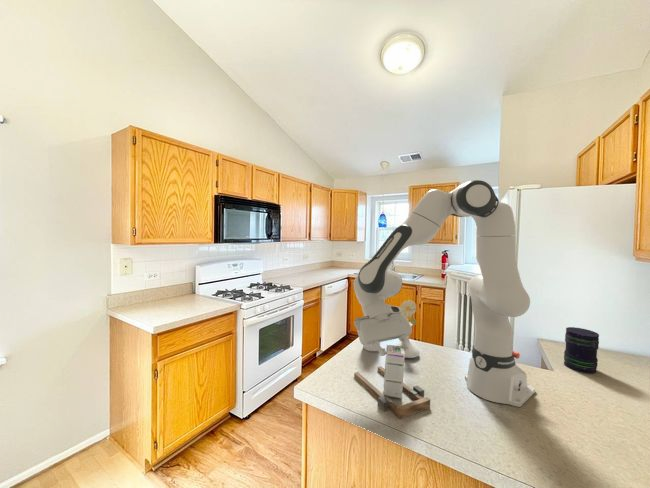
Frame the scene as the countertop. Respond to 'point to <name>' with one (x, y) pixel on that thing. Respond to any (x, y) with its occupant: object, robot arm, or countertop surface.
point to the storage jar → (581, 350)
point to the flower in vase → (408, 311)
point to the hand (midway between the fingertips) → (394, 352)
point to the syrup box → (394, 371)
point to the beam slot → (387, 404)
